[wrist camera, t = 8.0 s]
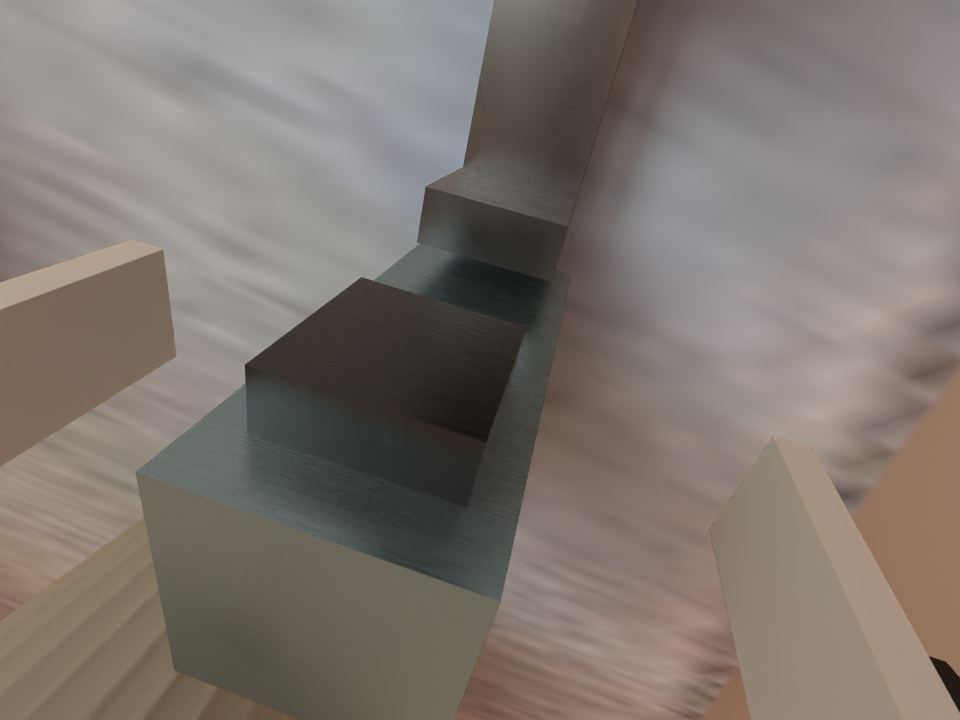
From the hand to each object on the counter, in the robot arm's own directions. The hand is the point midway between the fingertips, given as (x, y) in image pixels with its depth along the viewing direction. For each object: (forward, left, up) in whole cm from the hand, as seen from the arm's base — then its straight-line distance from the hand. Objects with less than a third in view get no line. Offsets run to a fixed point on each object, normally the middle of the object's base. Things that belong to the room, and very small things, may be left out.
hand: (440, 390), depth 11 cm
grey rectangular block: (0, 0, -4) cm, 4 cm away
